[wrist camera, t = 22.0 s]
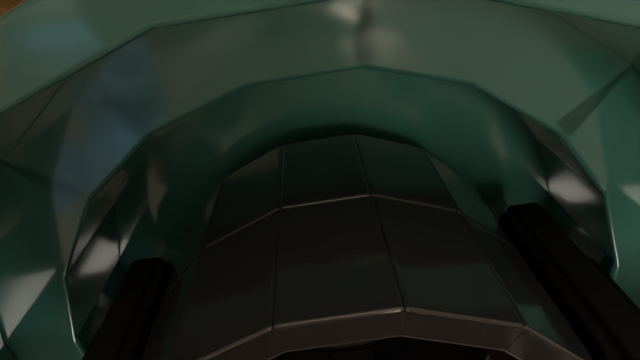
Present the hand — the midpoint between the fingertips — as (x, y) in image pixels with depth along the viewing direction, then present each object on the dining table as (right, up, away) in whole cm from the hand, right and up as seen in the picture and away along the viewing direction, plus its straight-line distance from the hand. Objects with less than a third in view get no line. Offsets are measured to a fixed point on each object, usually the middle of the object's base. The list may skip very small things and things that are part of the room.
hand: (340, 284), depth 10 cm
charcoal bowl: (0, 0, +1) cm, 1 cm away
